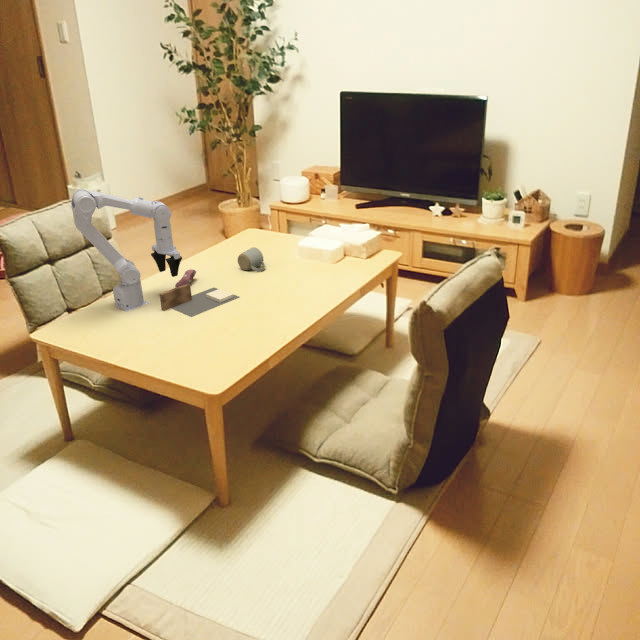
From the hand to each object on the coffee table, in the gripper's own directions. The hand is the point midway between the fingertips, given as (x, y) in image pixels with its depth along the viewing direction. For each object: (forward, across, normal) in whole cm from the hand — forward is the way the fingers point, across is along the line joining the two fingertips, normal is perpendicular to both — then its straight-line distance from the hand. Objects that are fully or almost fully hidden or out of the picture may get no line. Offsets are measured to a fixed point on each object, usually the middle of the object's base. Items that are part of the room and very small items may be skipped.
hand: (168, 273), depth 239 cm
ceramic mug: (+10, 0, -39) cm, 41 cm away
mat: (+9, -13, -4) cm, 17 cm away
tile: (+8, -15, -8) cm, 18 cm away
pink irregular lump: (+10, +6, -11) cm, 16 cm away
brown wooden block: (+9, -8, +3) cm, 12 cm away
